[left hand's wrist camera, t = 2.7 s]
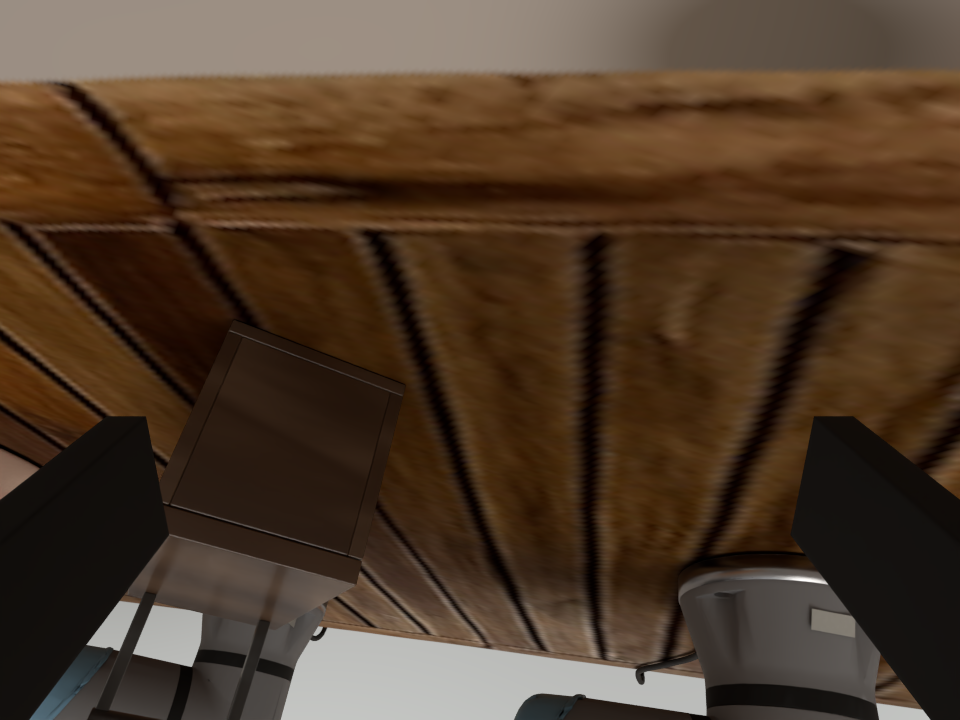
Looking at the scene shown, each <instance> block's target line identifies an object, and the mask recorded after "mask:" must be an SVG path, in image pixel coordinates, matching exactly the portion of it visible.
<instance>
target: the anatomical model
mask: <svg viewBox="0 0 960 720" xmlns="http://www.w3.org/2000/svg"><path fill="white" fill-rule="evenodd" d="M39 469H40V468H38V467H37V466H35V465H33V464H32V463H30V462H28V461H26V460H24V459H22V458H20V457H18V456H16V455H14V454H12V453H10V452H8V451H6V450H4V449H1V448H0V499H2V498H3V497H4V496H6V495H7V494H8V493H9V492H11V491H12V490H13V489H15V488H16V487H17V486H18V485H20V484H21V483H22V482H24V481H25V480H26V479H27V478H29V477H30V476H31V475H32V474H34V473H35V472H36V471H38V470H39Z"/></svg>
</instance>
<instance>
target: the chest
mask: <svg viewBox="0 0 960 720" xmlns="http://www.w3.org/2000/svg"><path fill="white" fill-rule="evenodd" d="M404 390H405V385H403V384H401V383H398V382H396V381H393V380H390V379H388V378H385V377H382V376H380V375H377V374H375V373H372V372H369V371H367V370H364V369H362V368H359V367H356V366H354V365H351V364H349V363H346V362H343V361H341V360H338V359H336V358H333V357H330V356H328V355H325V354H322V353H320V352H317V351H315V350H312V349H309V348H307V347H304V346H302V345H299V344H296V343H294V342H291V341H289V340H286V339H283V338H281V337H278V336H275V335H273V334H270V333H268V332H265V331H262V330H260V329H257V328H255V327H252V326H249V325H247V324H244V323H242V322H239V321H236V320H233V322H232V324H231V326H230V329H229V331H228V333H227V335H226V337H225V340H224V342H223V344H222V346H221V348H220V351H219V353H218V355H217V357H216V359H215V362H214V364H213V366H212V368H211V370H210V373H209V375H208V377H207V379H206V381H205V383H204V386H203V388H202V390H201V392H200V394H199V397H198V399H197V401H196V403H195V405H194V408H193V410H192V412H191V414H190V416H189V419H188V421H187V423H186V425H185V427H184V430H183V432H182V434H181V436H180V438H179V441H178V443H177V445H176V447H175V449H174V452H173V454H172V456H171V458H170V460H169V462H168V465H167V467H166V469H165V471H164V473H163V476H162V478H161V480H160V482H159V485H160V490H161V495H162V500H163V505H166V506H170V507H173V508H177V509H180V510H184V511H187V512H191V513H194V514H198V515H201V516H205V517H208V518H212V519H215V520H219V521H223V522H226V523H230V524H233V525H237V526H240V527H244V528H247V529H251V530H254V531H258V532H261V533H265V534H268V535H272V536H275V537H279V538H282V539H286V540H289V541H293V542H297V543H300V544H304V545H307V546H311V547H314V548H318V549H321V550H325V551H328V552H332V553H335V554H339V555H342V556H346V557H349V558H353V559H356V560H360V561H361V560H362V559H363V556H364V552H365V548H366V544H367V539H368V535H369V531H370V527H371V523H372V519H373V515H374V511H375V507H376V503H377V499H378V495H379V491H380V487H381V483H382V479H383V475H384V471H385V467H386V463H387V459H388V455H389V451H390V447H391V443H392V439H393V435H394V431H395V426H396V422H397V418H398V414H399V410H400V406H401V402H402V398H403V397H402V396H403V394H404Z"/></svg>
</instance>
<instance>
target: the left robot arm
mask: <svg viewBox="0 0 960 720" xmlns="http://www.w3.org/2000/svg"><path fill="white" fill-rule="evenodd" d="M168 536H169V530H168V525H167V520H166V515H165V510H164V505H163V500H162V495H161V490H160V485H159V480H158V475H157V470H156V465H155V460H154V455H153V450H152V445H151V440H150V435H149V430H148V425H147V420H146V416H107V417H105V418H104V419H103V420H102V421H100V422H99V423H98V424H97V425H95V426H94V427H93V428H91V429H90V430H89V431H88V432H86V433H85V434H84V435H82V436H81V437H80V438H79V439H77V440H76V441H75V442H73V443H72V444H71V445H70V446H68V447H67V448H66V449H64V450H63V451H62V452H61V453H59V454H58V455H57V456H56V457H54V458H53V459H52V460H50V461H49V462H48V463H47V464H45V465H44V466H43V467H41V468H40V469H39V470H38V471H36V472H35V473H34V474H32V475H31V476H30V477H29V478H27V479H26V480H25V481H24V482H22V483H21V484H20V485H18V486H17V487H16V488H15V489H13V490H12V491H11V492H9V493H8V494H7V495H6V496H4V497H3V498H2V499H0V720H30V718H31V717H32V716H33V714H34V713H35V712H36V710H37V709H38V708H39V706H40V705H41V704H42V702H43V701H44V700H45V698H46V697H47V696H48V694H49V693H50V692H51V691H52V689H53V688H54V687H55V685H56V684H57V683H58V681H59V680H60V679H61V677H62V676H63V675H64V673H65V672H66V671H67V669H68V668H69V667H70V665H71V664H72V663H73V661H74V660H75V659H76V658H77V656H78V655H79V654H80V652H81V651H82V650H83V648H84V647H85V646H86V644H87V643H88V642H89V640H90V639H91V638H92V636H93V635H94V634H95V632H96V631H97V630H98V628H99V627H100V626H101V625H102V623H103V622H104V621H105V619H106V618H107V617H108V615H109V614H110V613H111V611H112V610H113V609H114V607H115V606H116V605H117V603H118V602H119V601H120V599H121V598H122V597H123V596H124V594H125V593H126V592H127V590H128V589H129V588H130V586H131V585H132V584H133V582H134V581H135V580H136V578H137V577H138V576H139V574H140V573H141V572H142V570H143V569H144V568H145V566H146V565H147V564H148V563H149V561H150V560H151V559H152V557H153V556H154V555H155V553H156V552H157V551H158V549H159V548H160V547H161V545H162V544H163V543H164V541H165V540H166V539H167V537H168ZM791 536H792V537H793V539H794V540H795V541H796V543H797V544H798V545H799V547H800V548H801V549H802V551H803V552H804V553H805V555H806V556H798V555H784V554H748V555H735V556H726V557H720V558H714V559H710V560H706V561H702V562H699V563H696V564H693V565H691V566H689V567H687V568H686V569H684V570H683V571H682V572H681V573H680V574H679V577H678V594H679V604H680V605H681V609H682V612H683V615H684V618H685V621H686V624H687V627H688V629H689V632H690V635H691V638H692V641H693V644H694V647H695V650H696V652H695V653H693V654H691V655H688V656H685V657H681V658H677V659H673V660H669V661H665V662H662V663H657V664H652V665H647V666H643V667H640V668H638V669H637V670H636V679H637V681H638V683H639V684H641V685H643V684H644V682H645V677H644V672H646V671H651V670H657V669H662V668H666V667H670V666H675V665H679V664H683V663H687V662H691V661H694V660H696V659H699V662H700V665H701V667H702V670H703V673H704V677H705V686H706V706H707V716H703V715H695V714H689V713H684V712H677V711H670V710H664V709H657V708H650V707H643V706H637V705H630V704H623V703H617V702H610V701H603V700H596V699H590V698H586V696H585V695H582V694H577V695H575V696H562V695H553V694H536V695H533V696H531V697H530V698H528V699H527V700H525V702H524V703H523V704H522V706H521V707H520V708H519V710H518V712H517V714H516V716H515V719H514V720H879V717H878V711H877V706H876V699H875V684H876V678H877V671H878V665H879V659H880V654H881V655H882V656H883V658H884V659H885V660H886V661H887V663H888V664H889V665H890V667H891V668H892V669H893V671H894V672H895V673H896V675H897V676H898V677H899V679H900V680H901V681H902V683H903V684H904V685H905V687H906V688H907V689H908V691H909V692H910V693H911V694H912V696H913V697H914V698H915V700H916V701H917V702H918V704H919V705H920V706H921V708H922V709H923V710H924V712H925V713H926V714H927V716H928V717H929V718H930V720H960V499H958V498H957V497H956V496H954V495H953V494H952V493H951V492H949V491H948V490H947V489H945V488H944V487H943V486H942V485H940V484H939V483H938V482H936V481H935V480H934V479H933V478H931V477H930V476H929V475H928V474H926V473H925V472H924V471H922V470H921V469H920V468H919V467H917V466H916V465H915V464H913V463H912V462H911V461H910V460H908V459H907V458H906V457H904V456H903V455H902V454H901V453H899V452H898V451H897V450H896V449H894V448H893V447H892V446H890V445H889V444H888V443H887V442H885V441H884V440H883V439H881V438H880V437H879V436H878V435H876V434H875V433H874V432H872V431H871V430H870V429H869V428H867V427H866V426H865V425H863V424H862V423H861V422H860V421H858V420H857V419H856V418H855V417H853V416H814V420H813V425H812V430H811V435H810V440H809V445H808V450H807V455H806V460H805V465H804V470H803V475H802V480H801V485H800V490H799V495H798V500H797V505H796V510H795V515H794V520H793V525H792V530H791Z"/></svg>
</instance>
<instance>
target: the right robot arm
mask: <svg viewBox="0 0 960 720" xmlns="http://www.w3.org/2000/svg"><path fill="white" fill-rule="evenodd" d="M327 604H328V601H327V602H325V603H323V604H321V605H320V606H318V607H316V608H314V609H312V610H311V611H309V612H307V613H305V614H303V615H302V616H300V617H298V618H296V619H295V620H293V621H291V622H289V623H287V624H286V625H284V626H282V627H280V628H278V629H277V630H272V629H268V632H267V635H266V639H265V642H264V645H263V648H262V652H261V655H260V658H259V661H258V664H257V668H256V671H255V674H254V677H253V680H252V684H251V687H250V690H249V693H248V697H247V700H246V703H245V706H244V709H243V713H242V716H241V719H240V720H281V716H282V712H283V709H284V705H285V701H286V698H287V694H288V691H289V687H290V683H291V679H292V676H293V672H294V669H295V666H296V663H297V660H298V659H299V657H300V655H301V654H302V652H303V650H304V649H305V647H306V645H307V644H308V642H309V640H312V641H317V640H319V639H321V638H322V636H323V635H324V634H325V632H326V630H327V627H323V628H322V630H321V632H320V634H318V635H317V636H313V634H314V632H315V631H316V629H317V627H318V626H319V624H320V622H321V621H322V619H323V617H324V615H325V611H326V607H327ZM255 629H256V626H255V625H251V624H246V623H242V622H238V621H234V620H229V619H225V618H221V617H217V616H213V615H208V614H204V613H203V617H202V635H201V643H200V647H199V650H198V652H197V655H196V658H195V661H194V663H193V666H192V667H188V666H184V665H180V664H175V663H171V662H166V661H162V660H157V659H152V658H148V657H144V656H139V655H135V654H132V657H131V659H130V661H129V664H128V666H127V669H126V671H125V673H124V676H123V678H122V681H121V683H120V686H119V688H118V690H117V693H116V695H115V698H114V700H113V702H112V705H111V707H110V710H113V711H118V712H124V713H129V714H134V715H140V716H145V717H151V718H156V719H162V720H226V719H227V716H228V713H229V709H230V706H231V703H232V700H233V697H234V694H235V691H236V688H237V685H238V682H239V678H240V675H241V672H242V669H243V666H244V663H245V660H246V657H247V654H248V650H249V647H250V644H251V641H252V638H253V635H254V632H255ZM118 654H119V651H117V650H113V648H111V647H108V648H100V647H95V646H89V645H86V646H85V647H84V648H83V650H82V651H81V652H80V654H79V655H78V656H77V658H76V659H75V660H74V661H73V663H72V664H71V665H70V667H69V668H68V669H67V671H66V672H65V673H64V675H63V676H62V677H61V679H60V680H59V681H58V683H57V684H56V685H55V687H54V688H53V689H52V691H51V692H50V693H49V694H48V696H47V697H46V698H45V700H44V701H43V702H42V704H41V705H40V706H39V708H38V709H37V710H36V712H35V713H34V714H33V716H32V717H31V718H30V720H87V718H88V716H89V714H90V712H91V709H92V708H93V707H96V705H97V703H98V701H99V698H100V696H101V694H102V691H103V689H104V687H105V684H106V682H107V680H108V677H109V675H110V672H111V670H112V668H113V665H114V663H115V661H116V658H117V656H118Z"/></svg>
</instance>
